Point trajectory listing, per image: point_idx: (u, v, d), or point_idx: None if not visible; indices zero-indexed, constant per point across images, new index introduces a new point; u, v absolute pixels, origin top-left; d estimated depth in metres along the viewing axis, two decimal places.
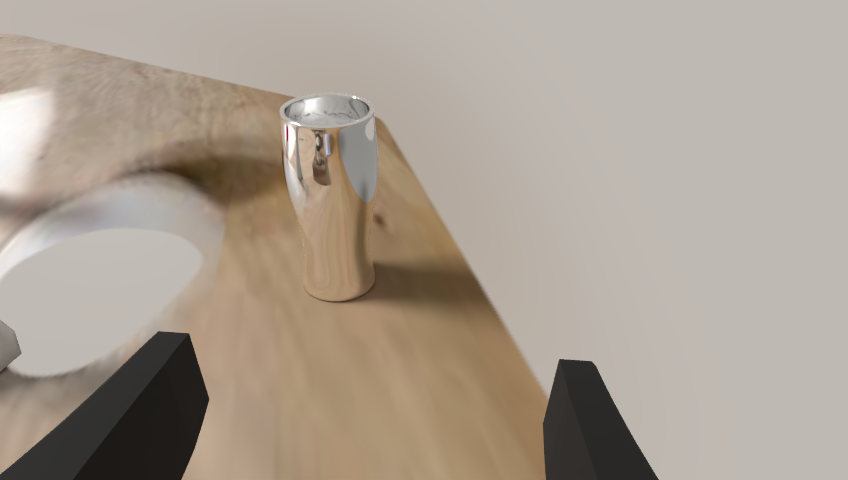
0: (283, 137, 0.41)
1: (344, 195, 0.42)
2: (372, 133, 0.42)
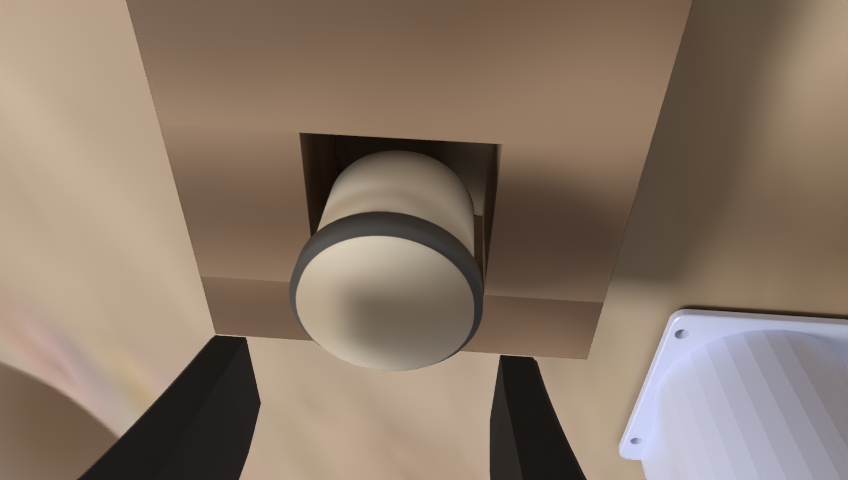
0: None
1: None
2: None
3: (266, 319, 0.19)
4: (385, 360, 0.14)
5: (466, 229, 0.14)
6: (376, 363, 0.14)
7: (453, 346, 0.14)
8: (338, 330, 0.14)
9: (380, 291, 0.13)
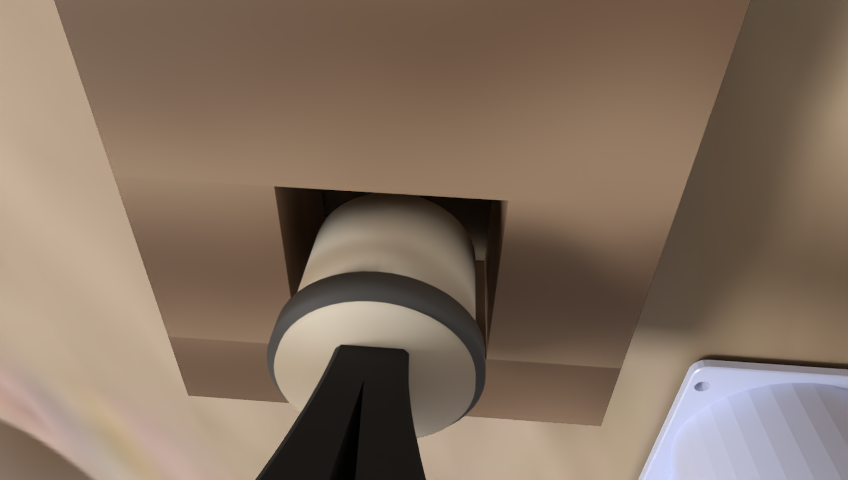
0: None
1: None
2: None
3: (243, 381, 0.17)
4: None
5: (466, 284, 0.13)
6: None
7: (452, 417, 0.12)
8: None
9: None
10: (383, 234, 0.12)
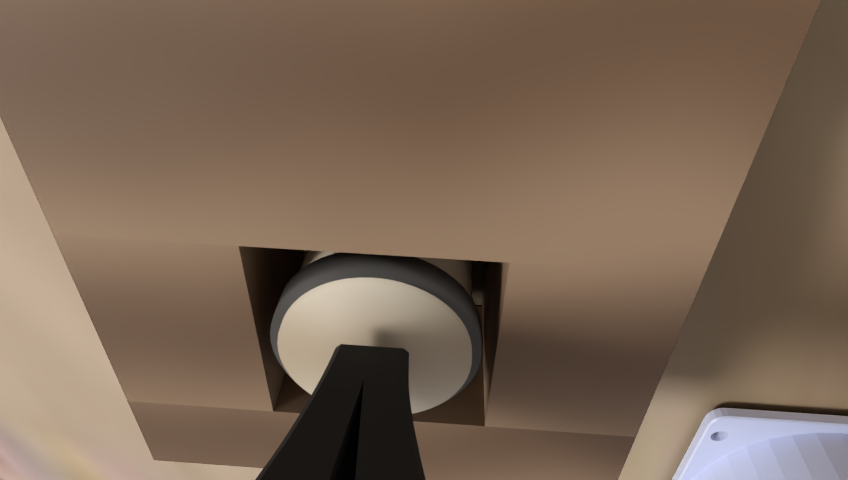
0: None
1: None
2: None
3: (214, 446, 0.15)
4: None
5: (463, 263, 0.13)
6: None
7: (449, 392, 0.13)
8: None
9: (369, 335, 0.12)
10: None
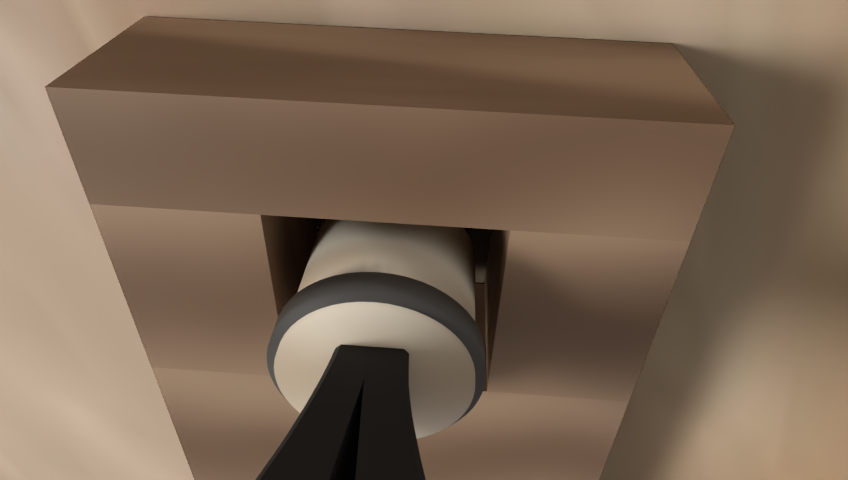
0: None
1: None
2: None
3: None
4: None
5: None
6: None
7: None
8: None
9: None
10: None
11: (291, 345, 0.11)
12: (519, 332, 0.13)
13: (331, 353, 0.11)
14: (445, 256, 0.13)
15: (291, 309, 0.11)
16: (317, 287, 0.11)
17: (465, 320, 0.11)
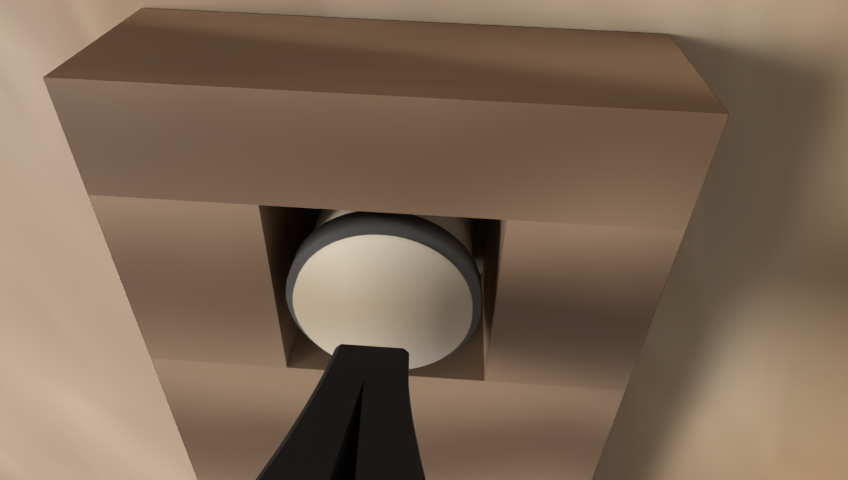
0: None
1: None
2: None
3: None
4: None
5: None
6: None
7: None
8: None
9: None
10: None
11: (308, 276, 0.13)
12: (516, 322, 0.14)
13: (344, 283, 0.13)
14: None
15: (309, 243, 0.13)
16: (332, 224, 0.13)
17: (462, 254, 0.13)
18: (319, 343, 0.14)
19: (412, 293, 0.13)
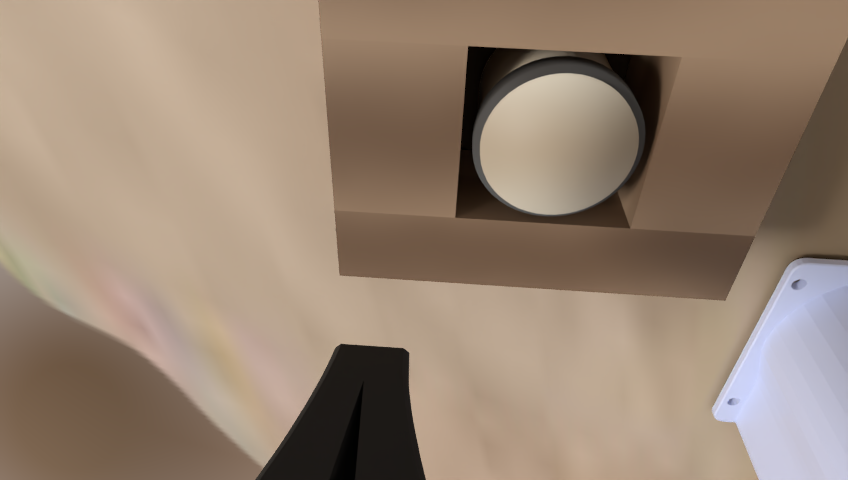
0: None
1: None
2: None
3: (395, 258, 0.18)
4: (548, 203, 0.16)
5: None
6: (539, 206, 0.16)
7: (612, 186, 0.16)
8: (512, 171, 0.16)
9: (558, 128, 0.15)
10: None
11: None
12: None
13: None
14: None
15: None
16: None
17: None
18: None
19: None
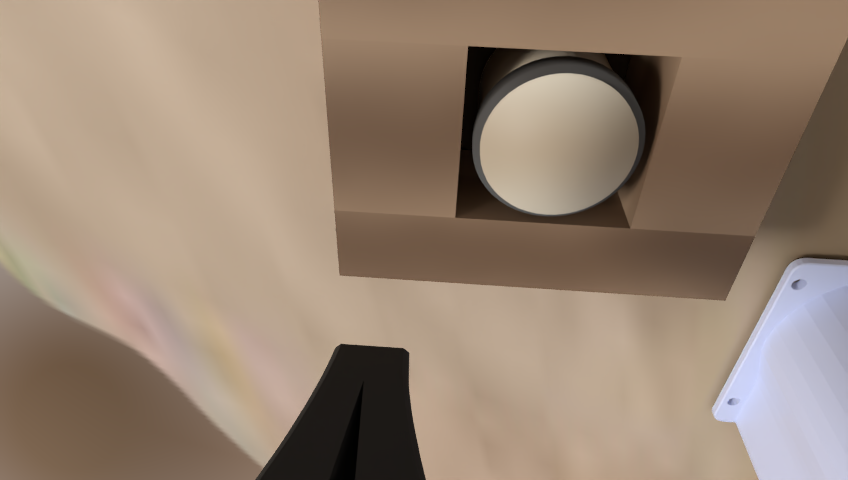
0: None
1: None
2: None
3: (395, 258, 0.18)
4: (548, 203, 0.16)
5: None
6: (539, 206, 0.16)
7: (612, 186, 0.16)
8: (512, 171, 0.16)
9: (558, 128, 0.15)
10: None
11: None
12: None
13: None
14: None
15: None
16: None
17: None
18: None
19: None
